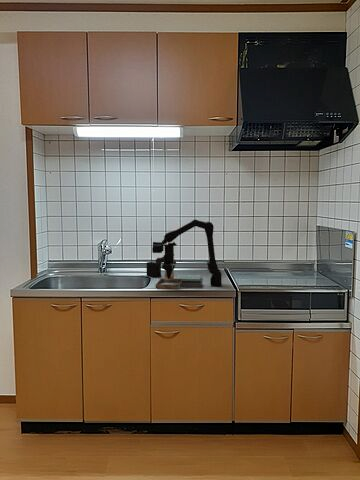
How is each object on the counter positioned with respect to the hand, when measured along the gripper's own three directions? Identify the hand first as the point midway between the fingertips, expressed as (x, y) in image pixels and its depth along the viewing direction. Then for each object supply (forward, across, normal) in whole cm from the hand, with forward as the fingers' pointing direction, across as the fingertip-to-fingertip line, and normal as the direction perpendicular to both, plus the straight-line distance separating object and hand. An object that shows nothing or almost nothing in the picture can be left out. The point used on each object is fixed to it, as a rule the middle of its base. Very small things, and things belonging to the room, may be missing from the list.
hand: (169, 277), depth 252 cm
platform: (+5, -17, +10) cm, 20 cm away
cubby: (+5, 0, 0) cm, 5 cm away
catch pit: (+5, 0, +14) cm, 14 cm away
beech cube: (+1, 0, 0) cm, 1 cm away
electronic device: (+5, -25, -15) cm, 30 cm away
